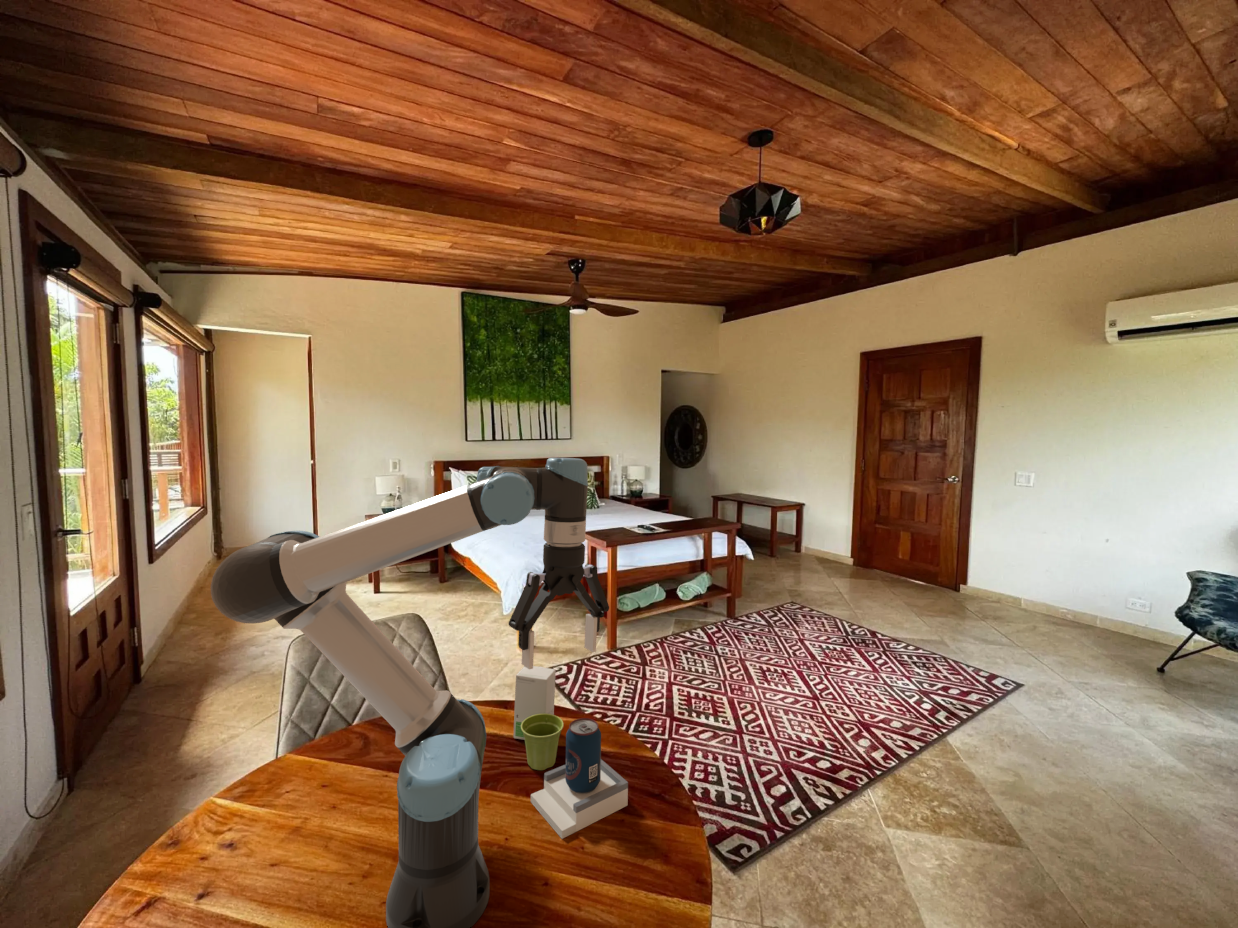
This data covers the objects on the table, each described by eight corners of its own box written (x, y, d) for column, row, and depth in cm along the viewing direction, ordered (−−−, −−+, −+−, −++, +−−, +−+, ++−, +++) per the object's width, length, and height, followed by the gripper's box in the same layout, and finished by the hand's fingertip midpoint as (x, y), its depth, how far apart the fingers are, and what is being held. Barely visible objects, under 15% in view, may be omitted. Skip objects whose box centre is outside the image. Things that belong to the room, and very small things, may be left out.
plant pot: (566, 751, 122) (567, 714, 121) (558, 777, 113) (558, 737, 112) (527, 748, 123) (527, 711, 122) (515, 773, 113) (515, 734, 113)
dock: (561, 838, 95) (562, 813, 95) (530, 801, 105) (530, 778, 105) (627, 805, 104) (628, 782, 104) (593, 773, 114) (593, 752, 114)
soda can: (558, 782, 106) (559, 723, 105) (587, 769, 110) (587, 712, 109) (578, 801, 100) (579, 739, 100) (607, 786, 104) (608, 727, 104)
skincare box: (512, 738, 127) (513, 675, 126) (523, 724, 133) (524, 663, 132) (545, 743, 125) (546, 679, 124) (555, 728, 131) (556, 667, 130)
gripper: (512, 553, 85) (507, 682, 86) (630, 540, 101) (625, 649, 102) (491, 545, 91) (487, 666, 92) (606, 533, 107) (601, 637, 108)
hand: (560, 657), depth 97 cm, fingers open, 13 cm apart
